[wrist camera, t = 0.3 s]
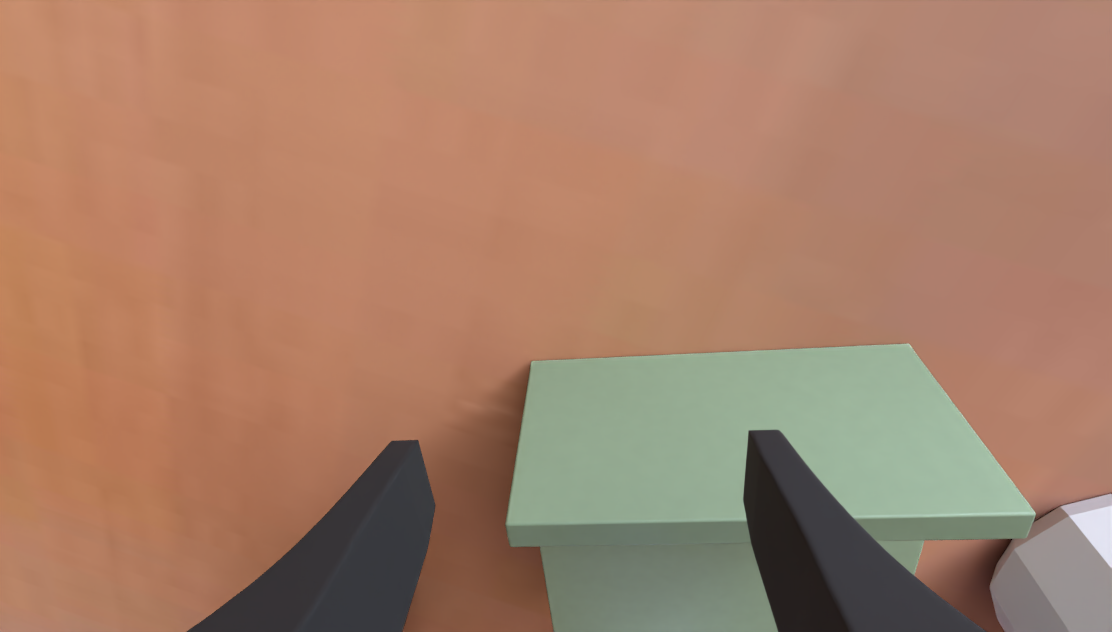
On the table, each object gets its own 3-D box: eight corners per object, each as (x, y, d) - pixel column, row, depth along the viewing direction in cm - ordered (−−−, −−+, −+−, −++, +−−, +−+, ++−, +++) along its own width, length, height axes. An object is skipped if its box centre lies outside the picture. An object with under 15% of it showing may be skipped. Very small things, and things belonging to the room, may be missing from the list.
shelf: (861, 559, 29) (940, 749, 22) (560, 563, 31) (548, 743, 24) (909, 343, 23) (1038, 513, 16) (531, 360, 25) (504, 524, 18)
